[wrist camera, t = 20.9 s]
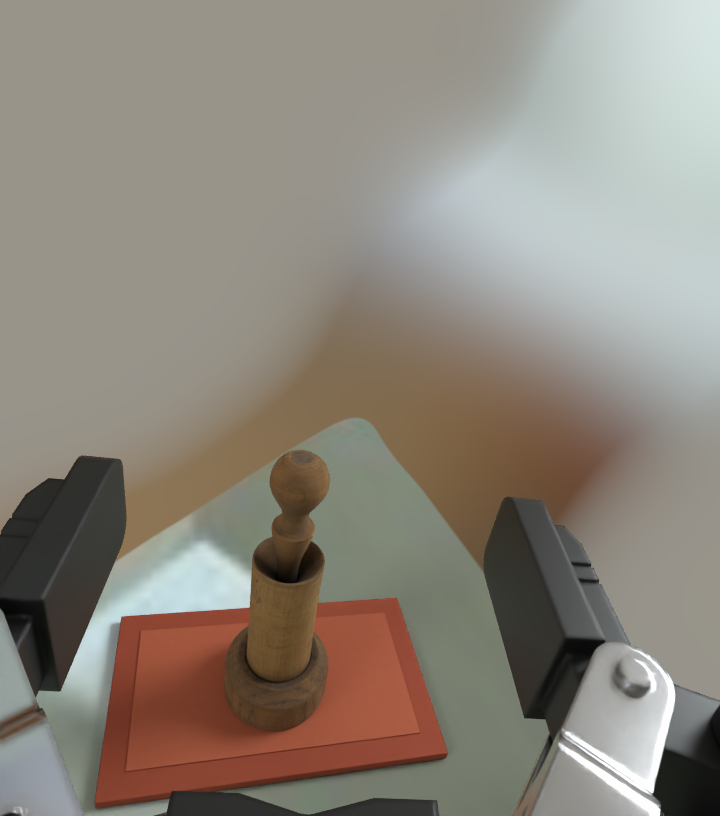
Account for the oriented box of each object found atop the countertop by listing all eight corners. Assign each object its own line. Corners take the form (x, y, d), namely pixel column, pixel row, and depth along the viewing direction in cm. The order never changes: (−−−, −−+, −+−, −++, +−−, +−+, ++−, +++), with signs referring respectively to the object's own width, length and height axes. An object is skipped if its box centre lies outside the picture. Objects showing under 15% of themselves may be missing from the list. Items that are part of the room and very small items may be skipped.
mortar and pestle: (213, 651, 40) (222, 427, 31) (305, 628, 42) (338, 415, 33) (237, 746, 35) (256, 512, 26) (340, 713, 37) (390, 490, 28)
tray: (395, 602, 47) (397, 596, 46) (446, 758, 37) (448, 752, 36) (121, 622, 41) (121, 615, 41) (95, 809, 32) (94, 802, 31)
